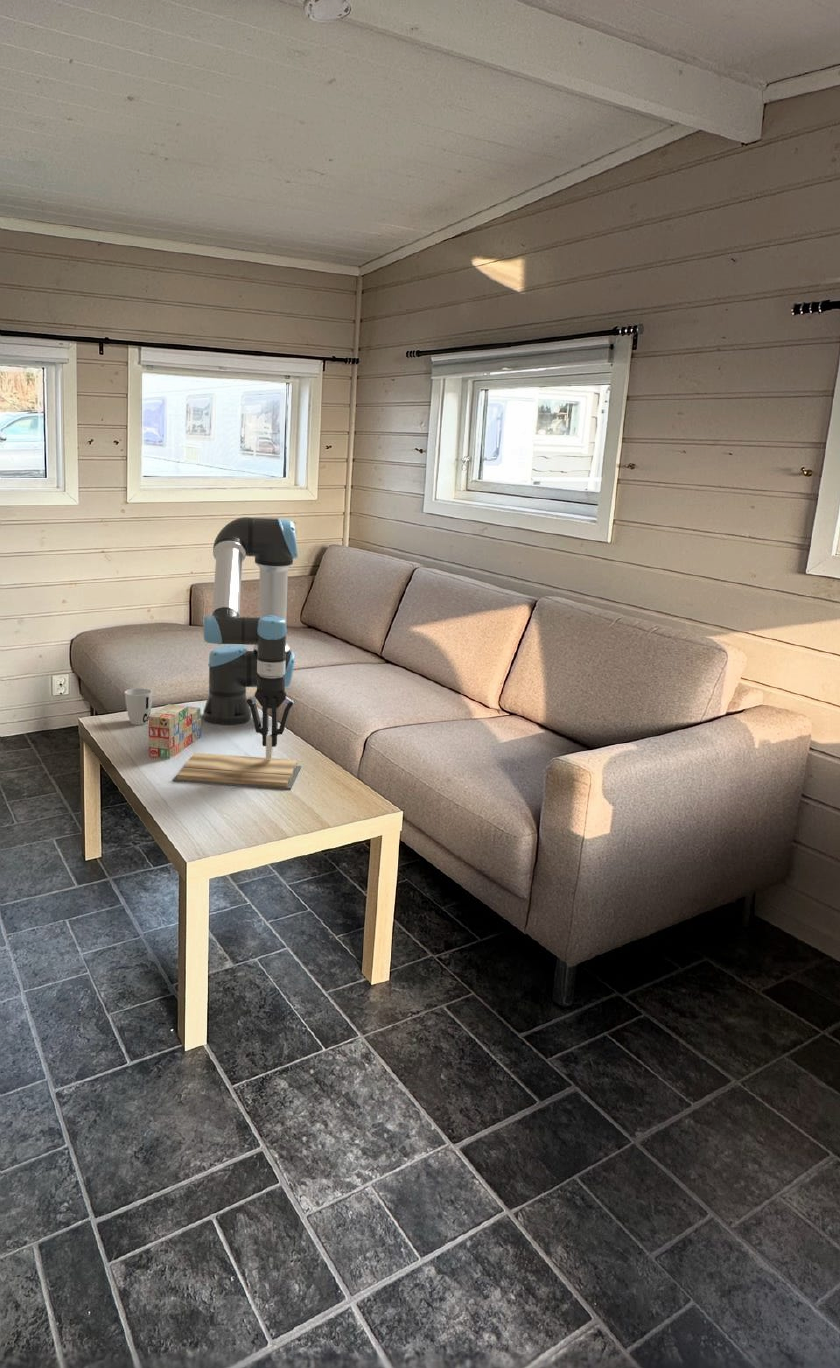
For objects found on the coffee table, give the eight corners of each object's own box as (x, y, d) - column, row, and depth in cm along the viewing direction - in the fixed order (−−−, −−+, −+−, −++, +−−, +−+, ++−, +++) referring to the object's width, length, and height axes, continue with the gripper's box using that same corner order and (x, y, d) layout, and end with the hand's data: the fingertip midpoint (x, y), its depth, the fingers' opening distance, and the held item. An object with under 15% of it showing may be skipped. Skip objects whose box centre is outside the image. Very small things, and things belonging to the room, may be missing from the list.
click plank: (194, 756, 253) (193, 752, 253) (297, 764, 253) (297, 760, 252) (183, 771, 244) (183, 766, 244) (291, 778, 243) (291, 774, 243)
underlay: (190, 759, 254) (190, 758, 254) (301, 767, 253) (301, 765, 253) (172, 781, 238) (172, 779, 237) (290, 789, 237) (290, 788, 237)
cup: (148, 727, 279) (147, 696, 277) (121, 725, 279) (121, 694, 277) (156, 719, 287) (155, 689, 284) (130, 717, 287) (129, 687, 284)
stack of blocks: (181, 734, 275) (181, 695, 272) (201, 737, 274) (201, 697, 271) (148, 757, 254) (148, 715, 251) (169, 759, 253) (169, 717, 250)
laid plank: (183, 771, 243) (182, 767, 243) (290, 779, 243) (290, 775, 242) (176, 779, 238) (176, 774, 238) (287, 787, 237) (287, 782, 237)
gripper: (243, 676, 241) (242, 760, 247) (292, 680, 241) (290, 763, 247) (250, 669, 248) (248, 750, 255) (297, 672, 248) (295, 754, 254)
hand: (269, 757), depth 251 cm, fingers closed
